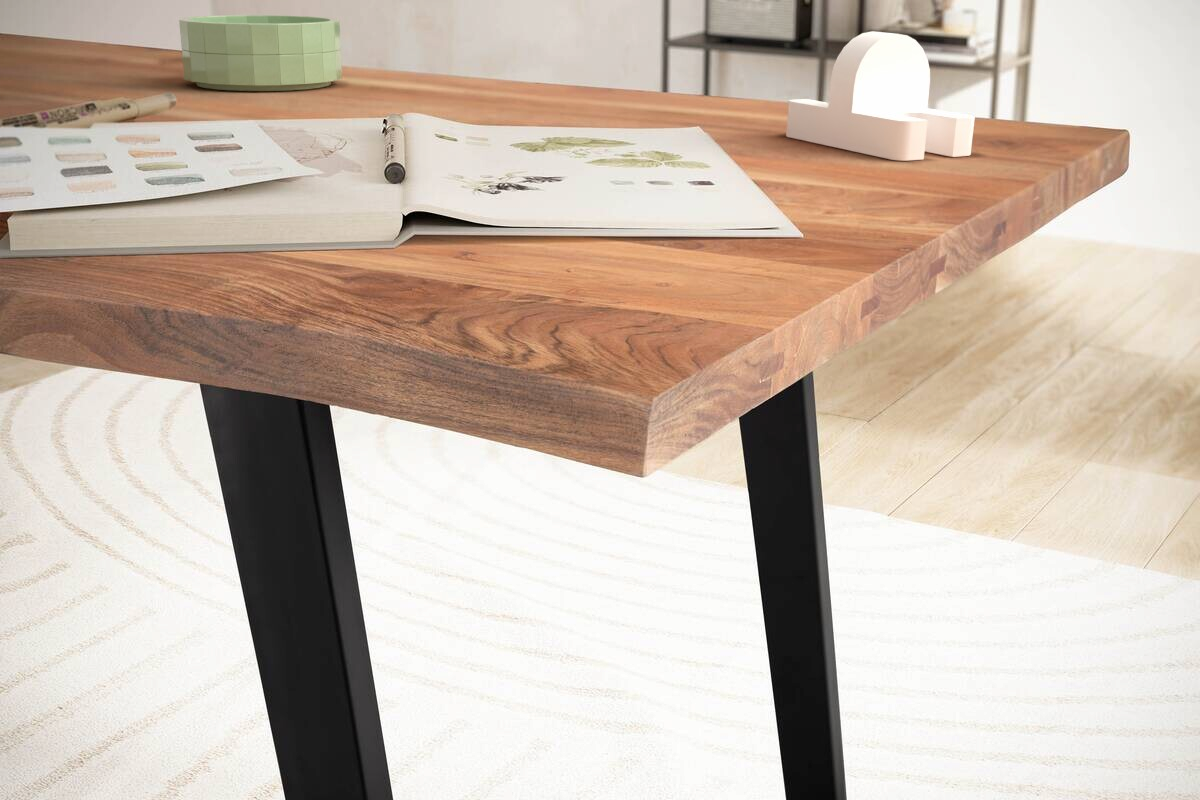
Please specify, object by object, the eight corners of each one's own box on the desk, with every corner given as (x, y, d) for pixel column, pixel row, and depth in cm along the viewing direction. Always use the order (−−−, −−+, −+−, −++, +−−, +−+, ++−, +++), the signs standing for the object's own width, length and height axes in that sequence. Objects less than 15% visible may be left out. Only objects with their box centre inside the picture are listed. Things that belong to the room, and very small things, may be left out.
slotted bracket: (975, 155, 88) (989, 38, 86) (899, 161, 85) (910, 39, 82) (853, 130, 99) (862, 26, 96) (781, 135, 96) (788, 27, 93)
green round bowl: (214, 95, 113) (209, 25, 111) (165, 80, 125) (159, 16, 123) (366, 88, 121) (363, 22, 119) (306, 74, 133) (303, 14, 131)
